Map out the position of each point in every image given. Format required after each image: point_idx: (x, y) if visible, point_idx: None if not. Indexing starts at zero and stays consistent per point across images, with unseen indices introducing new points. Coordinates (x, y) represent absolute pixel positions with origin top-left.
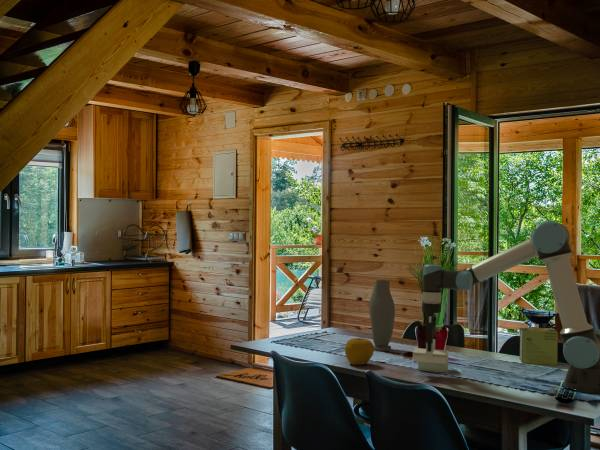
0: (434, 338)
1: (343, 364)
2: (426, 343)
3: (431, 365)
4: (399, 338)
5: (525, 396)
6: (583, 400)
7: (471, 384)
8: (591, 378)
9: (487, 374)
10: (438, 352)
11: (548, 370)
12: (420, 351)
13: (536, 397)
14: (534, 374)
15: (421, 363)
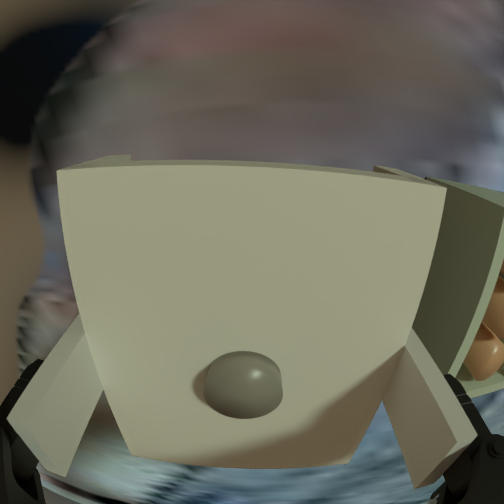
0: (444, 482)
1: None
2: (13, 417)
3: (428, 274)
4: None
5: (92, 473)
6: None
7: None
8: None
9: (365, 448)
10: (210, 431)
11: (416, 498)
12: (167, 270)
13: (99, 483)
14: (373, 498)
15: (448, 210)
